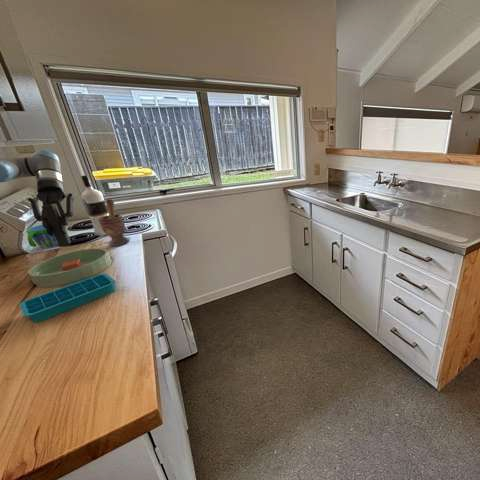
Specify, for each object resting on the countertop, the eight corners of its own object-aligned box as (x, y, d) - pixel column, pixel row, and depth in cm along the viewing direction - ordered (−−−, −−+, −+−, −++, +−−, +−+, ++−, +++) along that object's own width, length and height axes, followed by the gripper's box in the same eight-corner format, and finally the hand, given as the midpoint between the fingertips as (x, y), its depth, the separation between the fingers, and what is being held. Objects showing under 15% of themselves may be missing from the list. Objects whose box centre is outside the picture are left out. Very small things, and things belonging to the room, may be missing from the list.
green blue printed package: (46, 253, 113) (35, 232, 109) (23, 254, 114) (12, 233, 110) (77, 240, 128) (69, 220, 124) (57, 241, 128) (48, 221, 124)
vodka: (119, 232, 136) (98, 174, 125) (97, 237, 130) (73, 177, 118) (115, 229, 142) (94, 173, 130) (94, 234, 136) (70, 176, 124)
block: (66, 278, 90) (60, 267, 88) (69, 273, 93) (63, 262, 92) (82, 274, 92) (77, 263, 90) (84, 269, 96) (79, 259, 94)
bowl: (25, 296, 81) (17, 282, 79) (45, 269, 98) (39, 258, 96) (109, 275, 92) (103, 262, 90) (114, 254, 109) (110, 243, 107)
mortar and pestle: (106, 242, 123) (90, 201, 116) (128, 237, 129) (114, 197, 121) (109, 248, 115) (92, 205, 108) (132, 242, 121) (117, 201, 113)
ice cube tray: (119, 290, 82) (116, 282, 81) (30, 326, 67) (24, 317, 66) (108, 279, 88) (105, 272, 87) (24, 311, 74) (19, 302, 73)
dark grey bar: (59, 246, 101) (41, 206, 95) (61, 243, 104) (43, 205, 98) (69, 244, 103) (52, 205, 97) (71, 241, 105) (54, 203, 99)
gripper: (79, 187, 112) (87, 233, 105) (28, 192, 104) (33, 242, 97) (71, 176, 106) (79, 224, 99) (16, 180, 98) (21, 233, 91)
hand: (56, 233), depth 98 cm, fingers closed on dark grey bar, 3 cm apart
